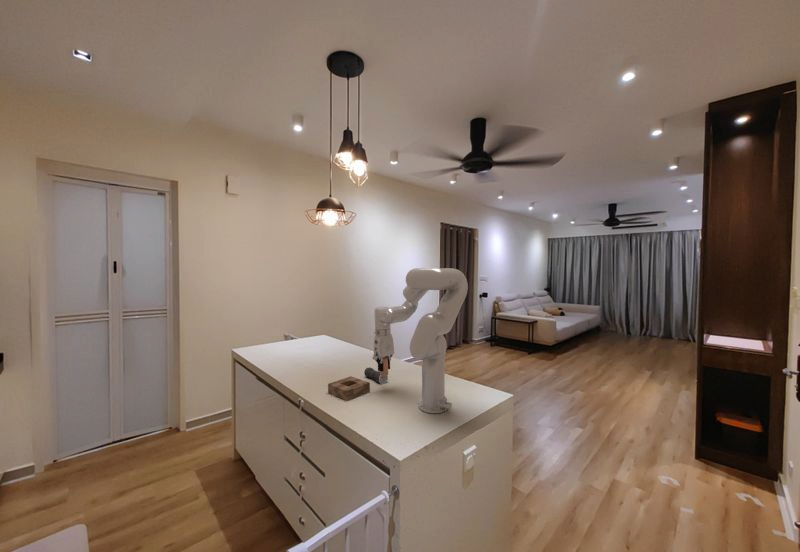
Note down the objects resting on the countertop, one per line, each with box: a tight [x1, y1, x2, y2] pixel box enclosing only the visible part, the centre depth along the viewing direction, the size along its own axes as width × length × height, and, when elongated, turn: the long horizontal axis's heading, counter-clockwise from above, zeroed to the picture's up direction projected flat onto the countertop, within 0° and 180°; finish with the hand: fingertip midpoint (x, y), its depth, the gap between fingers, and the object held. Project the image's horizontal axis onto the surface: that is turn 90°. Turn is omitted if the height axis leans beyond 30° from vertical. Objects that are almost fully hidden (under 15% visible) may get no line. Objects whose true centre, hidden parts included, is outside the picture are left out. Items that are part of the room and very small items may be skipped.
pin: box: [379, 357, 389, 376], centre depth 151 cm, size 4×4×8 cm
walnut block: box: [327, 375, 371, 402], centre depth 149 cm, size 14×14×4 cm
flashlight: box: [363, 366, 389, 385], centre depth 167 cm, size 15×5×5 cm, turn 39°
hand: (384, 369), depth 151 cm, fingers closed on pin, 4 cm apart
